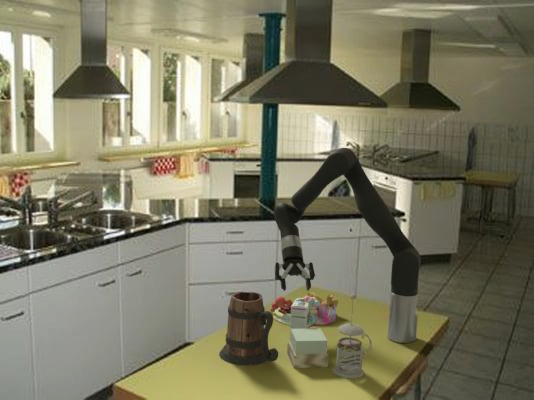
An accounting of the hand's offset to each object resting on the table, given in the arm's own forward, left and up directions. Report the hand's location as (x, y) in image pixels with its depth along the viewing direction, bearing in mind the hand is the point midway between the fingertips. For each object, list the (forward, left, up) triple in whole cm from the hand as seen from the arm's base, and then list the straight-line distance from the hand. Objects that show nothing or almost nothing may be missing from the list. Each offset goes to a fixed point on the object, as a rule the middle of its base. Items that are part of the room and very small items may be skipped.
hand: (296, 289), depth 205 cm
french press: (-12, +30, -17) cm, 36 cm away
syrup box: (0, +8, -17) cm, 19 cm away
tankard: (+18, +18, -17) cm, 30 cm away
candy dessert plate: (-8, -18, -18) cm, 27 cm away
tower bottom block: (0, +21, -17) cm, 27 cm away
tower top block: (0, +20, -13) cm, 24 cm away
